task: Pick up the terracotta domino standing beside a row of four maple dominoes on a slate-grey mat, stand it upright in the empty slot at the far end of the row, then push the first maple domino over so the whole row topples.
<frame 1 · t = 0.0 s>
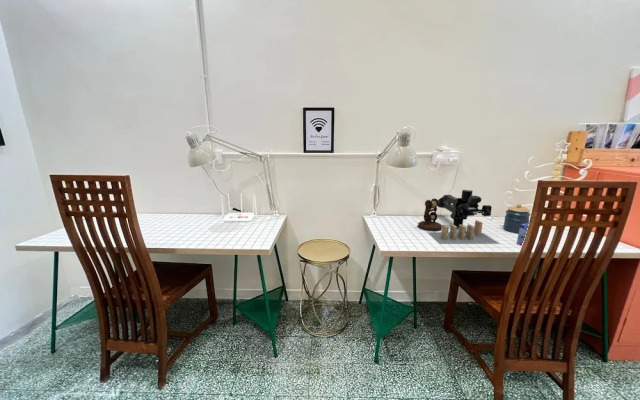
hand: (482, 214, 150), 17 cm above the table, tool horizontal, fingers open, 9 cm apart
canister: (514, 230, 172), on the table
ink cartridge box: (526, 245, 149), on the table
domino 4: (469, 238, 158), resting on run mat
brown animal figurine: (429, 228, 178), on the table
domino 1: (444, 238, 158), resting on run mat
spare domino: (477, 233, 166), resting on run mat
domino 3: (461, 238, 158), resting on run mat
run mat: (461, 238, 160), on the table
domino 2: (452, 238, 158), resting on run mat
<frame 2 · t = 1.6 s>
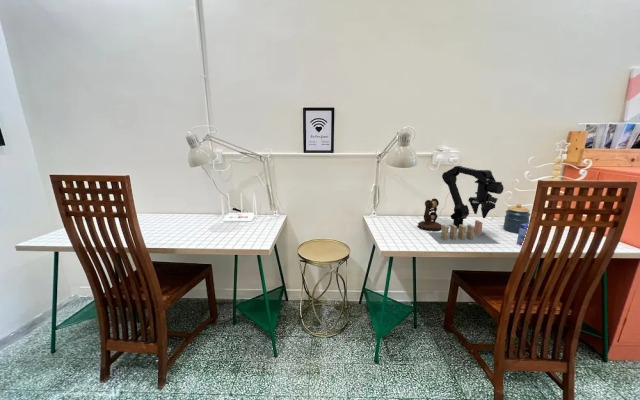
hand: (479, 216, 163), 12 cm above the table, tool pointing down, fingers open, 9 cm apart
nothing on the table moved.
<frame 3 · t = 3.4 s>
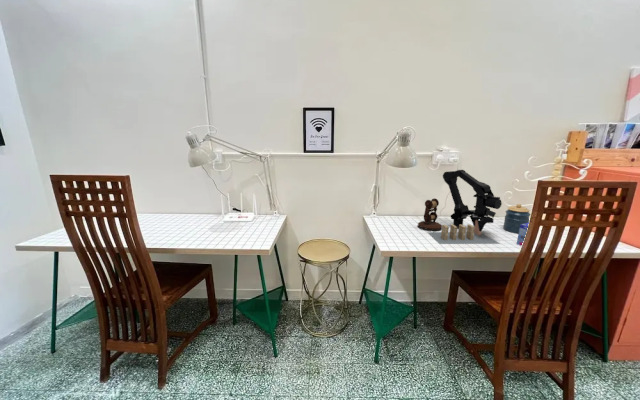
hand: (477, 229, 165), 3 cm above the table, tool pointing down, fingers closed on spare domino, 5 cm apart
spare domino: (477, 233, 166), resting on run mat, touching gripper
everything else where it was.
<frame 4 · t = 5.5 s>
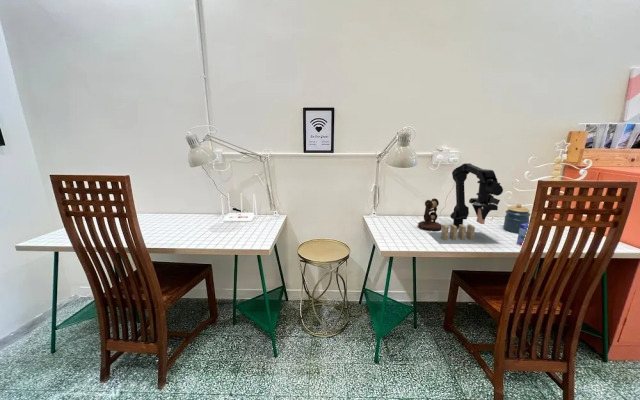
hand: (480, 218, 155), 13 cm above the table, tool pointing down, fingers closed on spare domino, 5 cm apart
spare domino: (480, 222, 156), point 10 cm above the table, touching gripper
everything else where it was.
when the fingers open (4 cm above the table, at t = 7.8 s): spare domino drops 1 cm, resting on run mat.
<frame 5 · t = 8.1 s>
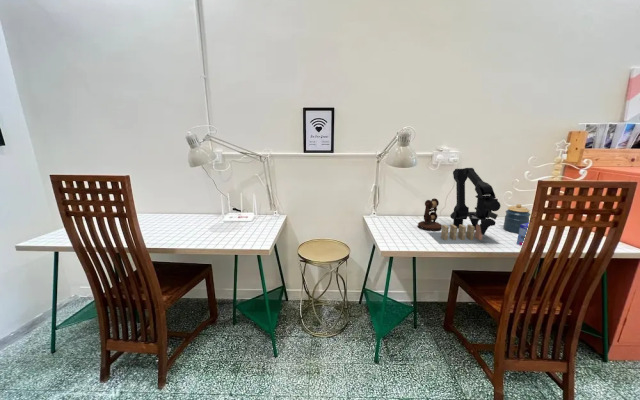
hand: (478, 232, 157), 4 cm above the table, tool pointing down, fingers open, 8 cm apart
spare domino: (478, 238, 158), resting on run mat
everything else where it was.
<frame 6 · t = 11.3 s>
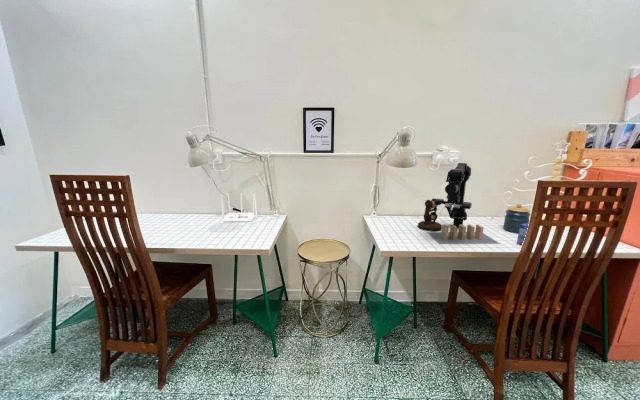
hand: (451, 218, 155), 13 cm above the table, tool pointing down, fingers closed
nothing on the table moved.
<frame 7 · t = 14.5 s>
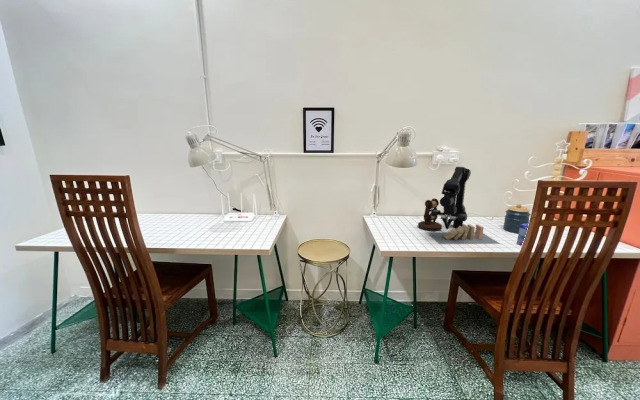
hand: (447, 229, 157), 6 cm above the table, tool pointing down, fingers closed
domino 1: (445, 237, 158), point 1 cm above the table, tilted 55°, touching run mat
domino 3: (461, 238, 158), point 1 cm above the table, tilted 16°, touching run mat
domino 2: (453, 237, 158), point 1 cm above the table, tilted 39°, touching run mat
everything else where it was.
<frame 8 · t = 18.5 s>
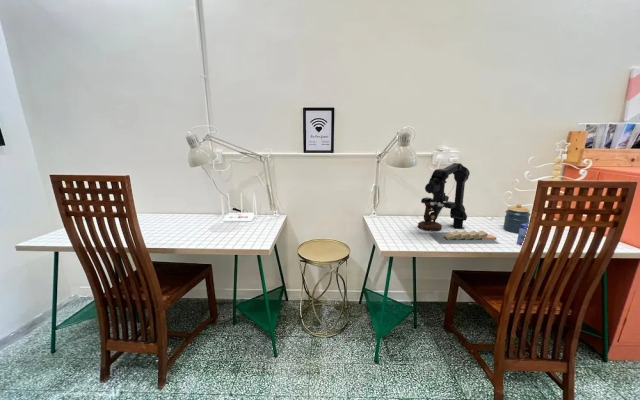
hand: (436, 216, 159), 13 cm above the table, tool pointing down, fingers closed
domino 4: (471, 237, 158), point 1 cm above the table, tilted 71°, touching domino 3, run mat, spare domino
domino 1: (445, 237, 158), point 1 cm above the table, tilted 71°, touching domino 2, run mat
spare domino: (480, 237, 158), point 1 cm above the table, tilted 90°, touching domino 4, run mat
domino 3: (463, 237, 158), point 1 cm above the table, tilted 71°, touching domino 2, domino 4, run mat
domino 2: (454, 237, 158), point 1 cm above the table, tilted 72°, touching domino 1, domino 3, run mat
everything else where it was.
at the end: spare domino tilted 90°; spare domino inside the target area (0.4 cm from its centre), point 1.2 cm above the table; domino 2 tilted 72° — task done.
